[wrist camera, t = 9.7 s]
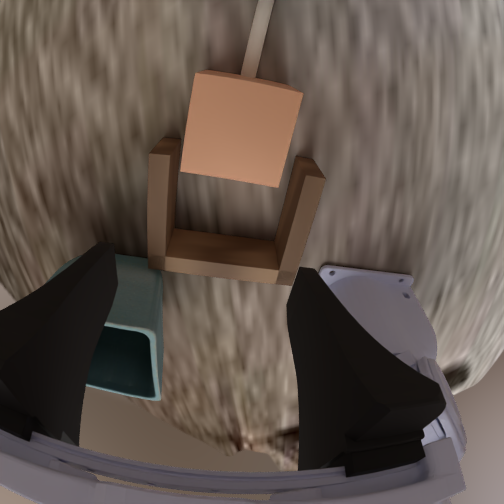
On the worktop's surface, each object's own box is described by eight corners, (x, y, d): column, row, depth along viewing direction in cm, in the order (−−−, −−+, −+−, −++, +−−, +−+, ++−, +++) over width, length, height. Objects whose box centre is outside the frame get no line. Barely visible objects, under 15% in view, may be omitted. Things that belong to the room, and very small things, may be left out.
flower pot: (75, 226, 22) (22, 304, 15) (178, 240, 23) (155, 332, 16) (89, 303, 27) (58, 379, 20) (175, 318, 28) (161, 402, 21)
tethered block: (319, -39, 12) (350, -70, 7) (269, 157, 20) (280, 196, 15) (237, -56, 11) (237, -96, 6) (193, 144, 19) (176, 179, 14)
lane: (313, 159, 20) (326, 179, 17) (285, 255, 24) (291, 285, 21) (163, 137, 18) (149, 153, 16) (158, 239, 23) (148, 268, 20)
